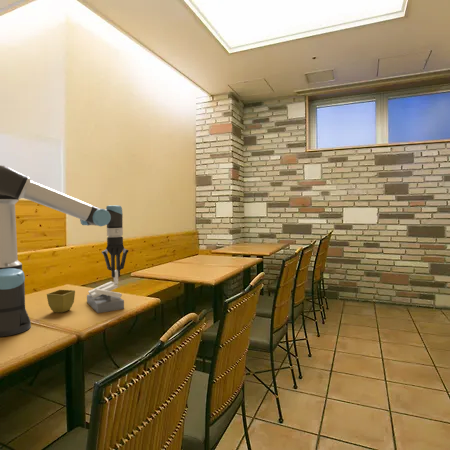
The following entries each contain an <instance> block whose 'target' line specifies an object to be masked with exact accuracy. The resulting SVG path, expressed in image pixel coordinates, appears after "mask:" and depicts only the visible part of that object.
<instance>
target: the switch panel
mask: <svg viewBox="0 0 450 450" xmlns="http://www.w3.org/2000/svg"><path fill="white" fill-rule="evenodd" d="M86 303H87V304H88V305H89V307H91V309H93V310H94V312H96V313H97V314H100V313H101V314H102V313H106V312H113V311H114V312H115V311H119V310H123V309H124V310H125V300H124V299H122V297H115V296H109V295H104V294H102V295H100V296H97V297H95V298H93V297H92V295H90V294H89V293H88V294H86Z"/></svg>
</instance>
